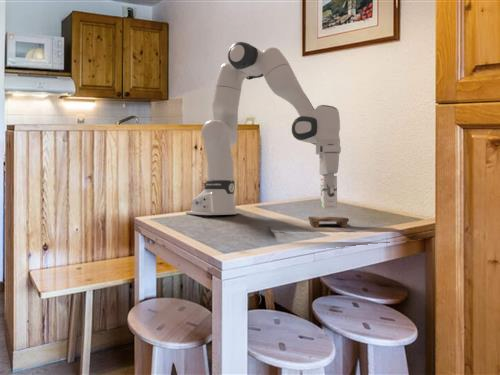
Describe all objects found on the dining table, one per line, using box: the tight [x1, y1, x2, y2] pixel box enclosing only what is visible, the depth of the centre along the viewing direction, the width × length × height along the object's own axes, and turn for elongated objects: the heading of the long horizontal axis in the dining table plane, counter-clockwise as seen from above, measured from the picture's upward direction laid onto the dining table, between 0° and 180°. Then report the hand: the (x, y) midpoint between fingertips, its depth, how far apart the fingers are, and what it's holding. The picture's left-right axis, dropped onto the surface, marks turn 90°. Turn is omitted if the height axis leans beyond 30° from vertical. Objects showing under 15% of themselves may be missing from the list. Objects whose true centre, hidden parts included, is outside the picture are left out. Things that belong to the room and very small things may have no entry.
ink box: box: [320, 175, 338, 209], centre depth 164 cm, size 9×5×12 cm, turn 0°
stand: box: [308, 216, 350, 228], centre depth 164 cm, size 13×11×3 cm
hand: (328, 186), depth 164 cm, fingers closed on ink box, 8 cm apart
